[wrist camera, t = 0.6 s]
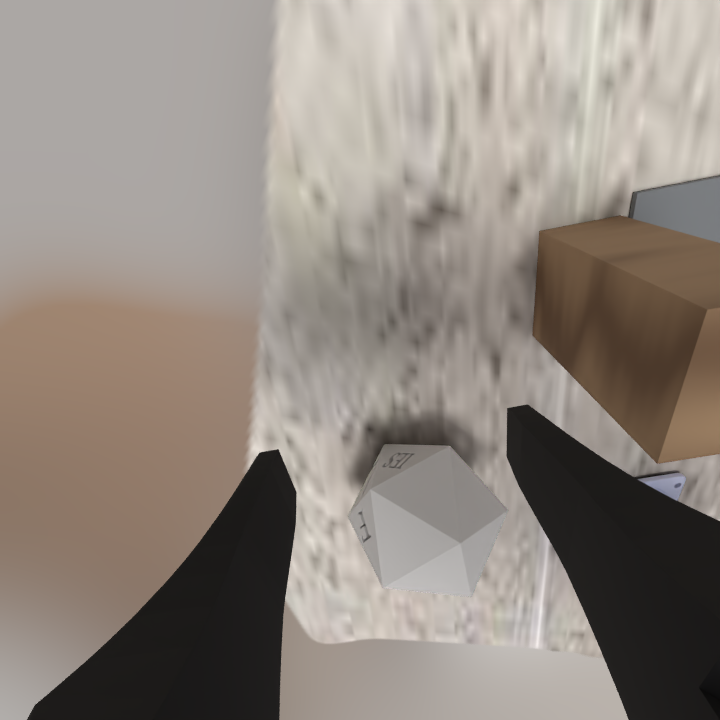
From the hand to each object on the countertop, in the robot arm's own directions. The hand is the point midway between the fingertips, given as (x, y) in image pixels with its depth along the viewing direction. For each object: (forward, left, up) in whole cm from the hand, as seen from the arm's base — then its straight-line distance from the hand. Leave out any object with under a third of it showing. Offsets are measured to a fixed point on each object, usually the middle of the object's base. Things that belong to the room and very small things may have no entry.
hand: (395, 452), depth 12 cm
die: (-12, -1, -11) cm, 16 cm away
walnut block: (0, -11, -10) cm, 15 cm away
